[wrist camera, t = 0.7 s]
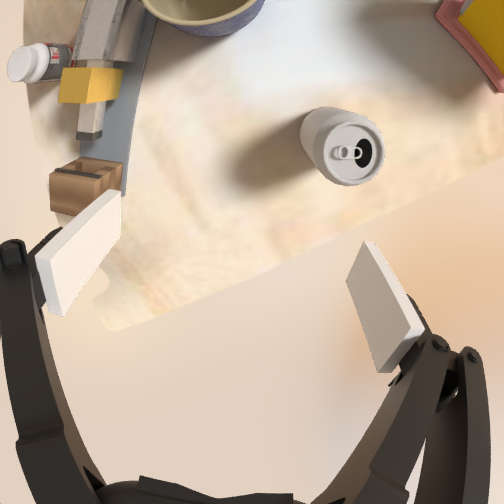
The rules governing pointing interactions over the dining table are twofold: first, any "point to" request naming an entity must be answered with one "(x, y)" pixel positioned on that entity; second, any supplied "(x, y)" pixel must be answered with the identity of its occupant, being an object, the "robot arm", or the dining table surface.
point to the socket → (82, 183)
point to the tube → (90, 94)
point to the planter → (205, 14)
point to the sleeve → (110, 30)
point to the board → (122, 109)
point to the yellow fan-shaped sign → (478, 32)
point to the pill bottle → (39, 62)
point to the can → (343, 145)
